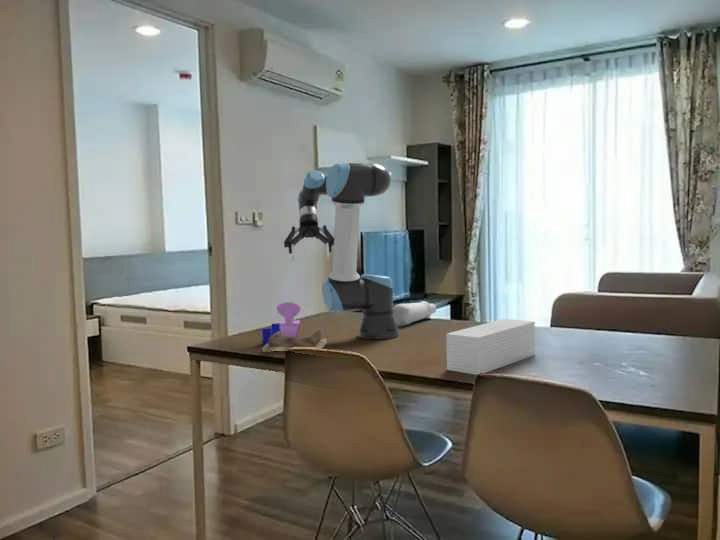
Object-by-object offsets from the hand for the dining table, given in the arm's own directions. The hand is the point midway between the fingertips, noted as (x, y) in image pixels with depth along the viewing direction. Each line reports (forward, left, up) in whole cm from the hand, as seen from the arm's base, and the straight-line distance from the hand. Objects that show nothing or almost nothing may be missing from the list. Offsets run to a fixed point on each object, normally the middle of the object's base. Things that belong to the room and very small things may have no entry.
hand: (310, 258), depth 241 cm
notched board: (+2, +24, -30) cm, 38 cm away
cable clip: (+14, +12, -30) cm, 36 cm away
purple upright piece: (+4, +24, -29) cm, 37 cm away
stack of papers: (-63, +49, -30) cm, 86 cm away
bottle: (-39, -28, -30) cm, 57 cm away
